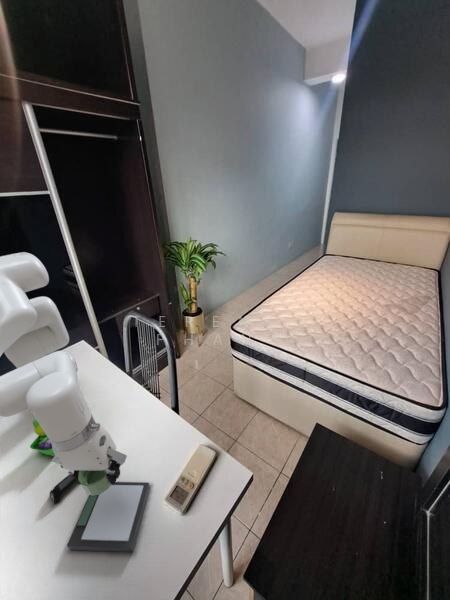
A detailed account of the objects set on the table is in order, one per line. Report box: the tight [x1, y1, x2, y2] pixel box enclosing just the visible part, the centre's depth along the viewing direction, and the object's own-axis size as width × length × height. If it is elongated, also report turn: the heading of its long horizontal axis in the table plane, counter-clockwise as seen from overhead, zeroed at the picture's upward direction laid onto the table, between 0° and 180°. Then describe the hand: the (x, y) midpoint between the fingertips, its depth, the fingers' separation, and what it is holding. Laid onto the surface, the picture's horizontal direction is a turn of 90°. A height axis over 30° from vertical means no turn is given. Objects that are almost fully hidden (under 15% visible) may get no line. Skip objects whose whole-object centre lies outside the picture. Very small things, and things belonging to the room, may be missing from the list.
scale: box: [66, 481, 151, 553], centre depth 62 cm, size 15×13×3 cm
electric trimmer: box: [49, 473, 77, 504], centre depth 70 cm, size 4×16×3 cm, turn 142°
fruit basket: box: [29, 417, 55, 457], centre depth 78 cm, size 11×9×11 cm
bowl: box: [78, 461, 112, 496], centre depth 56 cm, size 7×7×5 cm
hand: (99, 476), depth 57 cm, fingers closed on bowl, 6 cm apart
